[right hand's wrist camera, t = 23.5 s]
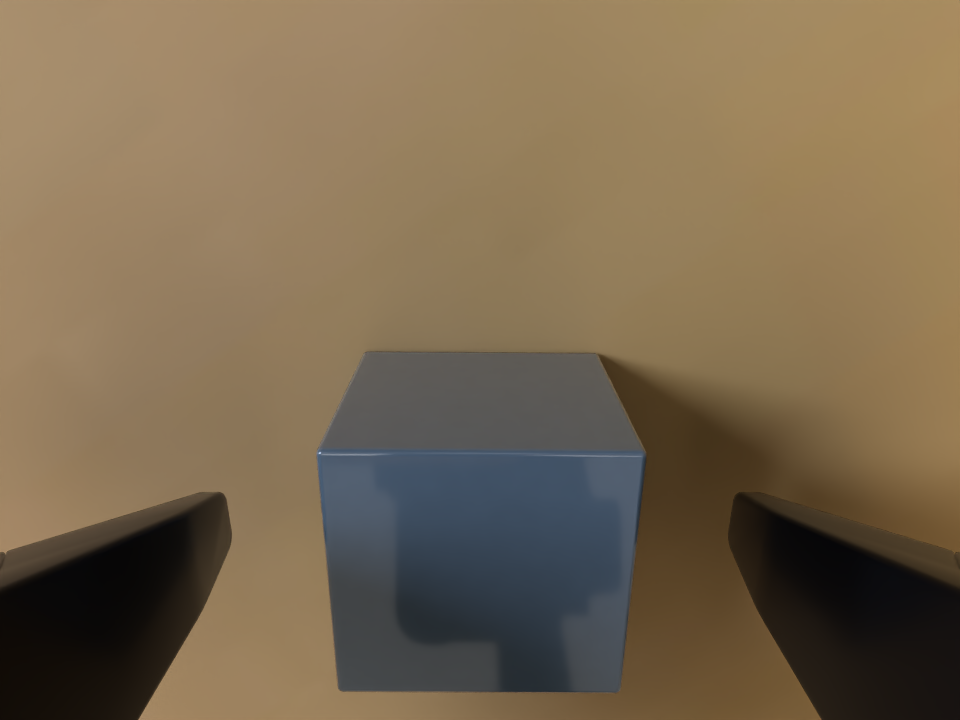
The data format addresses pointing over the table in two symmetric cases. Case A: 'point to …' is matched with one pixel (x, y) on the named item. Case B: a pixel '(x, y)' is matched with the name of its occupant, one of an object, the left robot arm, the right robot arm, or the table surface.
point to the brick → (480, 524)
